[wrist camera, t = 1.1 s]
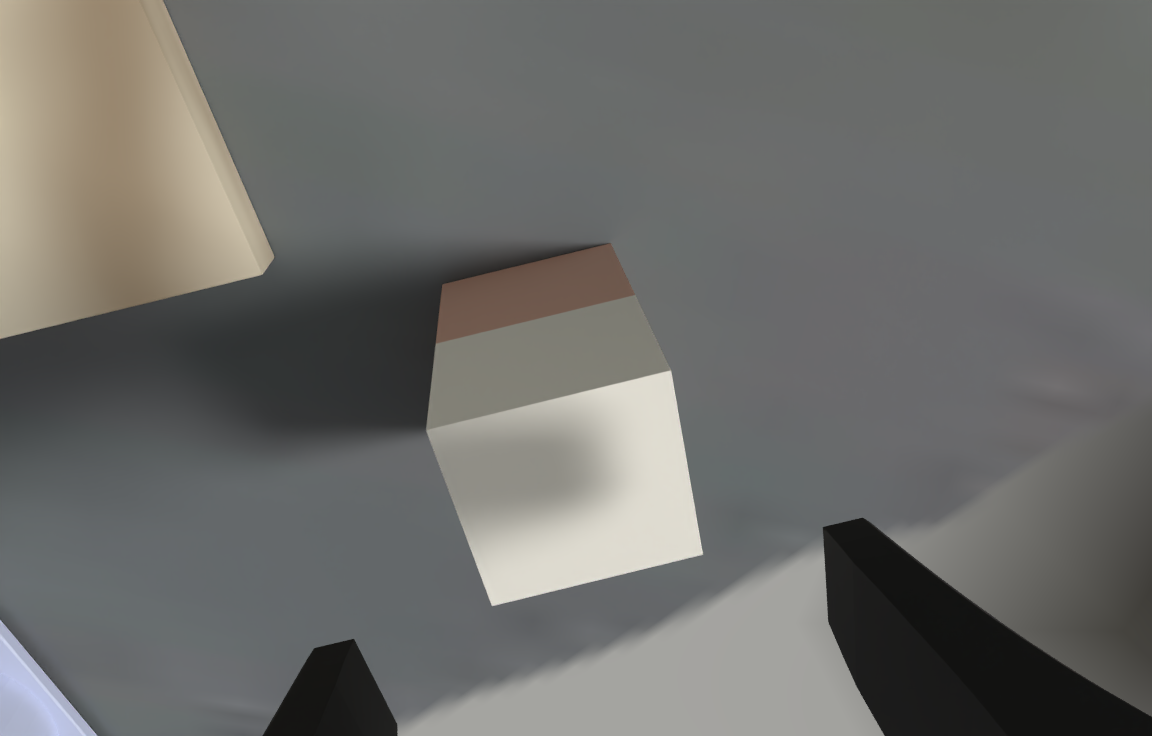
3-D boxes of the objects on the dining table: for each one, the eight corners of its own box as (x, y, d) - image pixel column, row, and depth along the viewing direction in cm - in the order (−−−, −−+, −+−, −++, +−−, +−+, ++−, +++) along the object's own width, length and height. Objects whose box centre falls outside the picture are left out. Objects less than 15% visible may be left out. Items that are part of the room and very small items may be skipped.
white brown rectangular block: (488, 425, 22) (492, 606, 16) (442, 284, 20) (426, 430, 13) (639, 388, 22) (702, 554, 16) (610, 243, 20) (671, 370, 13)
